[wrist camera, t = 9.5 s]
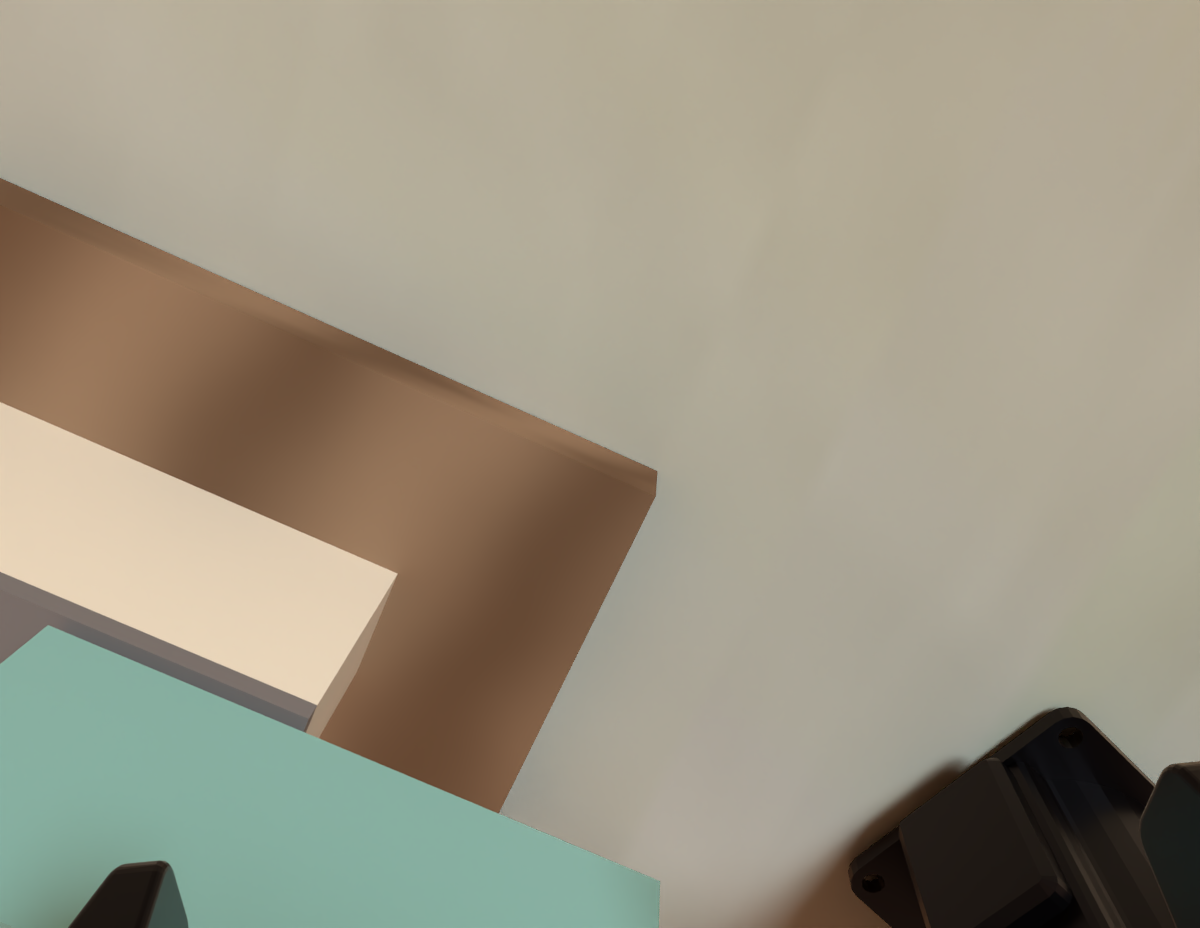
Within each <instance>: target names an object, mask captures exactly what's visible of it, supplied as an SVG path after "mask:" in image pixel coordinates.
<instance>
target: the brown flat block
mask: <svg viewBox="0 0 1200 928" xmlns="http://www.w3.org/2000/svg"><path fill="white" fill-rule="evenodd" d="M0 402H1V403H3V404H6V405H8V406H10V407H13V408H15V409H17V410H20V411H22V412H24V413H27V414H29V415H31V416H34V417H36V418H38V419H41V420H43V421H45V422H47V423H50V424H52V425H54V426H57V427H59V428H61V429H64V430H66V431H68V432H71V433H73V434H75V435H78V436H80V437H82V438H85V439H87V440H89V441H91V442H94V443H96V444H98V445H101V446H103V447H105V448H108V449H110V450H112V451H115V452H117V453H119V454H122V455H124V456H126V457H129V458H131V459H133V460H135V461H138V462H140V463H142V464H145V465H147V466H149V467H152V468H154V469H156V470H159V471H161V472H163V473H166V474H168V475H170V476H173V477H175V478H177V479H180V480H182V481H184V482H186V483H189V484H191V485H193V486H196V487H198V488H200V489H203V490H205V491H207V492H210V493H212V494H214V495H217V496H219V497H221V498H224V499H226V500H228V501H230V502H233V503H235V504H237V505H240V506H242V507H244V508H247V509H249V510H251V511H254V512H256V513H258V514H261V515H263V516H265V517H268V518H270V519H272V520H274V521H277V522H279V523H281V524H284V525H286V526H288V527H291V528H293V529H295V530H298V531H300V532H302V533H305V534H307V535H309V536H312V537H314V538H316V539H318V540H321V541H323V542H325V543H328V544H330V545H332V546H335V547H337V548H339V549H342V550H344V551H346V552H349V553H351V554H353V555H356V556H358V557H360V558H362V559H365V560H367V561H369V562H372V563H374V564H376V565H379V566H381V567H383V568H386V569H388V570H390V571H393V572H395V573H397V577H396V579H395V582H394V584H393V586H392V589H391V591H390V594H389V596H388V598H387V601H386V603H385V606H384V608H383V610H382V613H381V615H380V617H379V620H378V622H377V625H376V627H375V629H374V632H373V634H372V637H371V639H370V641H369V644H368V646H367V649H366V651H365V653H364V656H363V658H362V661H361V663H360V665H359V668H358V670H357V673H356V674H355V676H354V678H353V679H352V681H351V683H350V685H349V686H348V688H347V690H346V692H345V693H344V695H343V697H342V699H341V700H340V702H339V704H338V705H337V707H336V709H335V711H334V712H333V714H332V716H331V718H330V719H329V721H328V723H327V725H326V726H325V728H324V730H323V731H322V733H321V735H320V737H319V739H321V740H324V741H326V742H329V743H331V744H333V745H336V746H338V747H341V748H343V749H345V750H348V751H350V752H352V753H355V754H357V755H360V756H362V757H364V758H367V759H369V760H372V761H374V762H376V763H379V764H381V765H383V766H386V767H388V768H391V769H393V770H395V771H398V772H400V773H403V774H405V775H407V776H410V777H412V778H415V779H417V780H419V781H422V782H424V783H426V784H429V785H431V786H434V787H436V788H438V789H441V790H443V791H446V792H448V793H450V794H453V795H455V796H457V797H460V798H462V799H465V800H467V801H469V802H472V803H474V804H477V805H479V806H481V807H484V808H486V809H489V810H491V811H493V812H496V813H499V811H500V809H501V807H502V805H503V803H504V801H505V799H506V797H507V795H508V793H509V791H510V789H511V787H512V785H513V783H514V781H515V779H516V777H517V775H518V773H519V771H520V769H521V767H522V765H523V763H524V761H525V759H526V757H527V755H528V753H529V751H530V749H531V747H532V745H533V743H534V741H535V739H536V737H537V735H538V733H539V731H540V729H541V726H542V724H543V722H544V720H545V718H546V716H547V714H548V712H549V710H550V708H551V706H552V704H553V702H554V700H555V698H556V696H557V694H558V692H559V690H560V688H561V686H562V684H563V682H564V680H565V678H566V676H567V674H568V672H569V670H570V668H571V666H572V664H573V662H574V660H575V658H576V656H577V654H578V652H579V650H580V648H581V646H582V644H583V642H584V640H585V638H586V636H587V634H588V632H589V630H590V628H591V626H592V624H593V621H594V619H595V617H596V615H597V613H598V611H599V609H600V607H601V605H602V603H603V601H604V599H605V597H606V595H607V593H608V591H609V589H610V587H611V585H612V583H613V581H614V579H615V577H616V575H617V573H618V571H619V569H620V567H621V565H622V563H623V561H624V559H625V557H626V555H627V553H628V551H629V549H630V547H631V545H632V543H633V541H634V539H635V537H636V535H637V533H638V531H639V529H640V527H641V525H642V523H643V521H644V519H645V516H646V514H647V512H648V510H649V508H650V506H651V504H652V502H653V500H654V498H655V496H656V483H657V471H656V470H653V469H651V468H649V467H647V466H644V465H642V464H640V463H638V462H635V461H633V460H631V459H629V458H626V457H624V456H622V455H620V454H617V453H615V452H613V451H611V450H609V449H606V448H604V447H602V446H600V445H597V444H595V443H593V442H591V441H588V440H586V439H584V438H582V437H579V436H577V435H575V434H573V433H570V432H568V431H566V430H564V429H561V428H559V427H557V426H555V425H552V424H550V423H548V422H546V421H544V420H541V419H539V418H537V417H535V416H532V415H530V414H528V413H526V412H523V411H521V410H519V409H517V408H514V407H512V406H510V405H508V404H505V403H503V402H501V401H499V400H496V399H494V398H492V397H490V396H487V395H485V394H483V393H481V392H478V391H476V390H474V389H472V388H470V387H467V386H465V385H463V384H461V383H458V382H456V381H454V380H452V379H449V378H447V377H445V376H443V375H440V374H438V373H436V372H434V371H431V370H429V369H427V368H425V367H422V366H420V365H418V364H416V363H413V362H411V361H409V360H407V359H405V358H402V357H400V356H398V355H396V354H393V353H391V352H389V351H387V350H384V349H382V348H380V347H378V346H375V345H373V344H371V343H369V342H366V341H364V340H362V339H360V338H357V337H355V336H353V335H351V334H348V333H346V332H344V331H342V330H339V329H337V328H335V327H333V326H331V325H328V324H326V323H324V322H322V321H319V320H317V319H315V318H313V317H310V316H308V315H306V314H304V313H301V312H299V311H297V310H295V309H292V308H290V307H288V306H286V305H283V304H281V303H279V302H277V301H274V300H272V299H270V298H268V297H266V296H263V295H261V294H259V293H257V292H254V291H252V290H250V289H248V288H245V287H243V286H241V285H239V284H236V283H234V282H232V281H230V280H227V279H225V278H223V277H221V276H218V275H216V274H214V273H212V272H209V271H207V270H205V269H203V268H201V267H198V266H196V265H194V264H192V263H189V262H187V261H185V260H183V259H180V258H178V257H176V256H174V255H171V254H169V253H167V252H165V251H162V250H160V249H158V248H156V247H153V246H151V245H149V244H147V243H144V242H142V241H140V240H138V239H135V238H133V237H131V236H129V235H127V234H124V233H122V232H120V231H118V230H115V229H113V228H111V227H109V226H106V225H104V224H102V223H100V222H97V221H95V220H93V219H91V218H88V217H86V216H84V215H82V214H79V213H77V212H75V211H73V210H70V209H68V208H66V207H64V206H62V205H59V204H57V203H55V202H53V201H50V200H48V199H46V198H44V197H41V196H39V195H37V194H35V193H32V192H30V191H28V190H26V189H23V188H21V187H19V186H17V185H14V184H12V183H10V182H8V181H5V180H3V179H1V178H0Z"/></svg>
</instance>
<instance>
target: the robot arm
mask: <svg viewBox="0 0 1200 928" xmlns="http://www.w3.org/2000/svg"><path fill="white" fill-rule="evenodd" d="M1069 727H1076V731H1075V732H1074V734H1073V735H1071V736H1069V737H1067V738H1060V737H1059V734H1060V733H1061V732H1062V730H1064V729H1066V728H1069ZM848 872H849V878H850V882H851V887H852V890H853V892H854V893H855V894H856V896H857V897H858V898H860V899H861V900H862V901H863V902H864V903H865V904H866V905H867V906H869V907H870V908H871V909H872V910H873V911H874V912H875V913H876V914H877V915H879V916H880V917H881V918H882V919H883V920H884V921H885V922H886V923H888V924H889V925H890V926H891V927H892V928H1200V761H1199V762H1188V763H1178V764H1172V765H1169V766H1168V767H1166V768H1165V769H1164V770H1163V771H1162V773H1161V774H1160V777H1159V779H1158V781H1157V783H1156V785H1155V784H1154V783H1153V782H1152V781H1151V780H1150V779H1149V778H1148V777H1147V776H1146V775H1145V774H1144V773H1143V772H1142V771H1141V770H1140V769H1139V768H1138V767H1137V766H1136V765H1135V764H1134V763H1133V762H1132V761H1131V760H1130V759H1129V758H1128V757H1127V756H1126V755H1125V754H1124V753H1123V752H1122V751H1121V750H1120V749H1119V748H1118V747H1117V746H1116V745H1115V744H1114V743H1113V742H1112V741H1111V740H1110V739H1109V738H1108V737H1107V736H1106V735H1105V734H1104V733H1103V732H1102V731H1101V730H1100V729H1099V728H1098V727H1097V726H1096V725H1095V724H1094V723H1092V722H1091V721H1090V720H1089V719H1088V718H1087V717H1086V716H1085V715H1084V714H1083V713H1082V712H1080V711H1079V710H1077V709H1074V708H1069V707H1064V708H1058V709H1056V710H1054V711H1052V712H1050V713H1048V714H1047V715H1046V716H1044V717H1043V718H1042V719H1040V720H1039V721H1038V722H1036V723H1035V724H1034V725H1032V726H1031V727H1030V728H1028V729H1027V730H1026V731H1024V732H1023V733H1022V734H1020V735H1019V736H1018V737H1016V738H1015V739H1014V740H1012V741H1011V742H1010V743H1008V744H1007V745H1006V746H1004V747H1003V748H1002V749H1000V750H999V751H998V752H996V753H995V754H994V755H992V756H991V757H990V758H988V759H984V760H982V761H980V762H979V763H978V764H976V765H975V766H974V767H972V768H971V769H970V770H968V771H967V772H966V773H964V774H963V775H962V776H960V777H959V778H958V779H956V780H955V781H954V782H952V783H951V784H950V785H948V786H947V787H946V788H944V789H943V790H942V791H940V792H939V793H938V794H936V795H935V796H934V797H933V798H931V799H930V800H929V801H927V802H926V803H925V804H923V805H922V806H921V807H919V808H918V809H917V810H915V811H914V812H913V813H911V814H910V815H909V816H907V817H906V818H905V819H903V820H902V821H901V822H900V825H899V826H898V827H896V828H895V829H894V830H892V831H891V832H890V833H888V834H887V835H886V836H884V837H883V838H882V839H880V840H879V841H878V842H876V843H875V844H874V845H872V846H871V847H870V848H868V849H867V850H866V851H864V852H863V853H862V854H860V855H859V856H858V857H856V858H855V859H854V860H853V862H852V863H851V864H850V867H849V870H848ZM870 874H877V875H879V876H880V877H879V878H878V879H875V880H873V881H867V880H865V879H864V878H865V876H868V875H870ZM68 928H189V927H188V919H187V915H186V912H185V908H184V905H183V902H182V898H181V895H180V892H179V888H178V885H177V881H176V878H175V875H174V871H173V869H172V867H171V865H170V864H169V863H168V862H166V861H162V860H157V861H147V862H136V863H126V864H123V865H120V866H118V867H117V868H115V869H114V870H113V871H112V872H111V873H110V874H109V875H108V876H107V877H106V879H105V880H104V881H103V883H102V884H101V885H100V886H99V888H98V889H97V890H96V892H95V893H94V894H93V896H92V897H91V898H90V899H89V901H88V902H87V903H86V905H85V906H84V907H83V909H82V910H81V911H80V912H79V914H78V915H77V916H76V918H75V919H74V920H73V922H72V923H71V924H70V925H69V927H68Z"/></svg>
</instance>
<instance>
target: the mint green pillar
mask: <svg viewBox="0 0 1200 928" xmlns="http://www.w3.org/2000/svg"><path fill="white" fill-rule="evenodd" d="M157 860H162V861H166V862H168V863H169V864H170V865H171V867H172V869H173V871H174V875H175V878H176V881H177V885H178V888H179V892H180V895H181V898H182V902H183V905H184V908H185V912H186V915H187V919H188V927H189V928H659V899H660V881H658V880H656V879H653V878H651V877H648V876H646V875H644V874H641V873H639V872H637V871H634V870H632V869H629V868H627V867H625V866H622V865H620V864H617V863H615V862H613V861H610V860H608V859H606V858H603V857H601V856H598V855H596V854H594V853H591V852H589V851H586V850H584V849H582V848H579V847H577V846H574V845H572V844H570V843H567V842H565V841H563V840H560V839H558V838H555V837H553V836H551V835H548V834H546V833H543V832H541V831H539V830H536V829H534V828H532V827H529V826H527V825H524V824H522V823H520V822H517V821H515V820H512V819H510V818H508V817H505V816H503V815H500V814H498V813H496V812H493V811H491V810H489V809H486V808H484V807H481V806H479V805H477V804H474V803H472V802H469V801H467V800H465V799H462V798H460V797H457V796H455V795H453V794H450V793H448V792H446V791H443V790H441V789H438V788H436V787H434V786H431V785H429V784H426V783H424V782H422V781H419V780H417V779H415V778H412V777H410V776H407V775H405V774H403V773H400V772H398V771H395V770H393V769H391V768H388V767H386V766H383V765H381V764H379V763H376V762H374V761H372V760H369V759H367V758H364V757H362V756H360V755H357V754H355V753H352V752H350V751H348V750H345V749H343V748H341V747H338V746H336V745H333V744H331V743H329V742H326V741H324V740H321V739H319V738H317V737H314V736H312V735H309V734H307V733H305V732H302V731H300V730H298V729H295V728H293V727H290V726H288V725H286V724H283V723H281V722H278V721H276V720H274V719H271V718H269V717H266V716H264V715H262V714H259V713H257V712H255V711H252V710H250V709H247V708H245V707H243V706H240V705H238V704H235V703H233V702H231V701H228V700H226V699H224V698H221V697H219V696H216V695H214V694H212V693H209V692H207V691H204V690H202V689H200V688H197V687H195V686H192V685H190V684H188V683H185V682H183V681H181V680H178V679H176V678H173V677H171V676H169V675H166V674H164V673H161V672H159V671H157V670H154V669H152V668H149V667H147V666H145V665H142V664H140V663H138V662H135V661H133V660H130V659H128V658H126V657H123V656H121V655H118V654H116V653H114V652H111V651H109V650H107V649H104V648H102V647H99V646H97V645H95V644H92V643H90V642H87V641H85V640H83V639H80V638H78V637H75V636H73V635H71V634H68V633H66V632H64V631H61V630H59V629H56V628H54V627H52V626H49V625H48V626H46V627H45V628H44V629H43V630H41V631H40V632H39V633H38V634H36V635H35V636H34V637H33V638H32V639H30V640H29V641H28V642H27V643H25V644H24V645H23V646H22V647H20V648H19V649H18V650H17V651H16V652H14V653H13V654H12V655H11V656H9V657H8V658H7V659H6V660H5V661H3V662H2V663H1V664H0V928H68V927H69V925H70V924H71V923H72V922H73V920H74V919H75V918H76V916H77V915H78V914H79V912H80V911H81V910H82V909H83V907H84V906H85V905H86V903H87V902H88V901H89V899H90V898H91V897H92V896H93V894H94V893H95V892H96V890H97V889H98V888H99V886H100V885H101V884H102V883H103V881H104V880H105V879H106V877H107V876H108V875H109V874H110V873H111V872H112V871H113V870H114V869H115V868H117V867H118V866H120V865H123V864H126V863H136V862H147V861H157Z"/></svg>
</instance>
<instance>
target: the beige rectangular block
mask: <svg viewBox="0 0 1200 928" xmlns="http://www.w3.org/2000/svg"><path fill="white" fill-rule="evenodd" d="M396 577H397V573H395V572H393V571H390V570H388V569H386V568H383V567H381V566H379V565H376V564H374V563H372V562H369V561H367V560H365V559H362V558H360V557H358V556H356V555H353V554H351V553H349V552H346V551H344V550H342V549H339V548H337V547H335V546H332V545H330V544H328V543H325V542H323V541H321V540H318V539H316V538H314V537H312V536H309V535H307V534H305V533H302V532H300V531H298V530H295V529H293V528H291V527H288V526H286V525H284V524H281V523H279V522H277V521H274V520H272V519H270V518H268V517H265V516H263V515H261V514H258V513H256V512H254V511H251V510H249V509H247V508H244V507H242V506H240V505H237V504H235V503H233V502H230V501H228V500H226V499H224V498H221V497H219V496H217V495H214V494H212V493H210V492H207V491H205V490H203V489H200V488H198V487H196V486H193V485H191V484H189V483H186V482H184V481H182V480H180V479H177V478H175V477H173V476H170V475H168V474H166V473H163V472H161V471H159V470H156V469H154V468H152V467H149V466H147V465H145V464H142V463H140V462H138V461H135V460H133V459H131V458H129V457H126V456H124V455H122V454H119V453H117V452H115V451H112V450H110V449H108V448H105V447H103V446H101V445H98V444H96V443H94V442H91V441H89V440H87V439H85V438H82V437H80V436H78V435H75V434H73V433H71V432H68V431H66V430H64V429H61V428H59V427H57V426H54V425H52V424H50V423H47V422H45V421H43V420H41V419H38V418H36V417H34V416H31V415H29V414H27V413H24V412H22V411H20V410H17V409H15V408H13V407H10V406H8V405H6V404H3V403H1V402H0V664H1V663H2V662H3V661H5V660H6V659H7V658H8V657H9V656H11V655H12V654H13V653H14V652H16V651H17V650H18V649H19V648H20V647H22V646H23V645H24V644H25V643H27V642H28V641H29V640H30V639H32V638H33V637H34V636H35V635H36V634H38V633H39V632H40V631H41V630H43V629H44V628H45V627H46V626H48V625H49V626H52V627H54V628H56V629H59V630H61V631H64V632H66V633H68V634H71V635H73V636H75V637H78V638H80V639H83V640H85V641H87V642H90V643H92V644H95V645H97V646H99V647H102V648H104V649H107V650H109V651H111V652H114V653H116V654H118V655H121V656H123V657H126V658H128V659H130V660H133V661H135V662H138V663H140V664H142V665H145V666H147V667H149V668H152V669H154V670H157V671H159V672H161V673H164V674H166V675H169V676H171V677H173V678H176V679H178V680H181V681H183V682H185V683H188V684H190V685H192V686H195V687H197V688H200V689H202V690H204V691H207V692H209V693H212V694H214V695H216V696H219V697H221V698H224V699H226V700H228V701H231V702H233V703H235V704H238V705H240V706H243V707H245V708H247V709H250V710H252V711H255V712H257V713H259V714H262V715H264V716H266V717H269V718H271V719H274V720H276V721H278V722H281V723H283V724H286V725H288V726H290V727H293V728H295V729H298V730H300V731H302V732H305V733H307V734H309V735H312V736H314V737H317V738H319V737H320V735H321V733H322V731H323V730H324V728H325V726H326V725H327V723H328V721H329V719H330V718H331V716H332V714H333V712H334V711H335V709H336V707H337V705H338V704H339V702H340V700H341V699H342V697H343V695H344V693H345V692H346V690H347V688H348V686H349V685H350V683H351V681H352V679H353V678H354V676H355V674H356V673H357V670H358V668H359V665H360V663H361V661H362V658H363V656H364V653H365V651H366V649H367V646H368V644H369V641H370V639H371V637H372V634H373V632H374V629H375V627H376V625H377V622H378V620H379V617H380V615H381V613H382V610H383V608H384V606H385V603H386V601H387V598H388V596H389V594H390V591H391V589H392V586H393V584H394V582H395V579H396Z"/></svg>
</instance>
